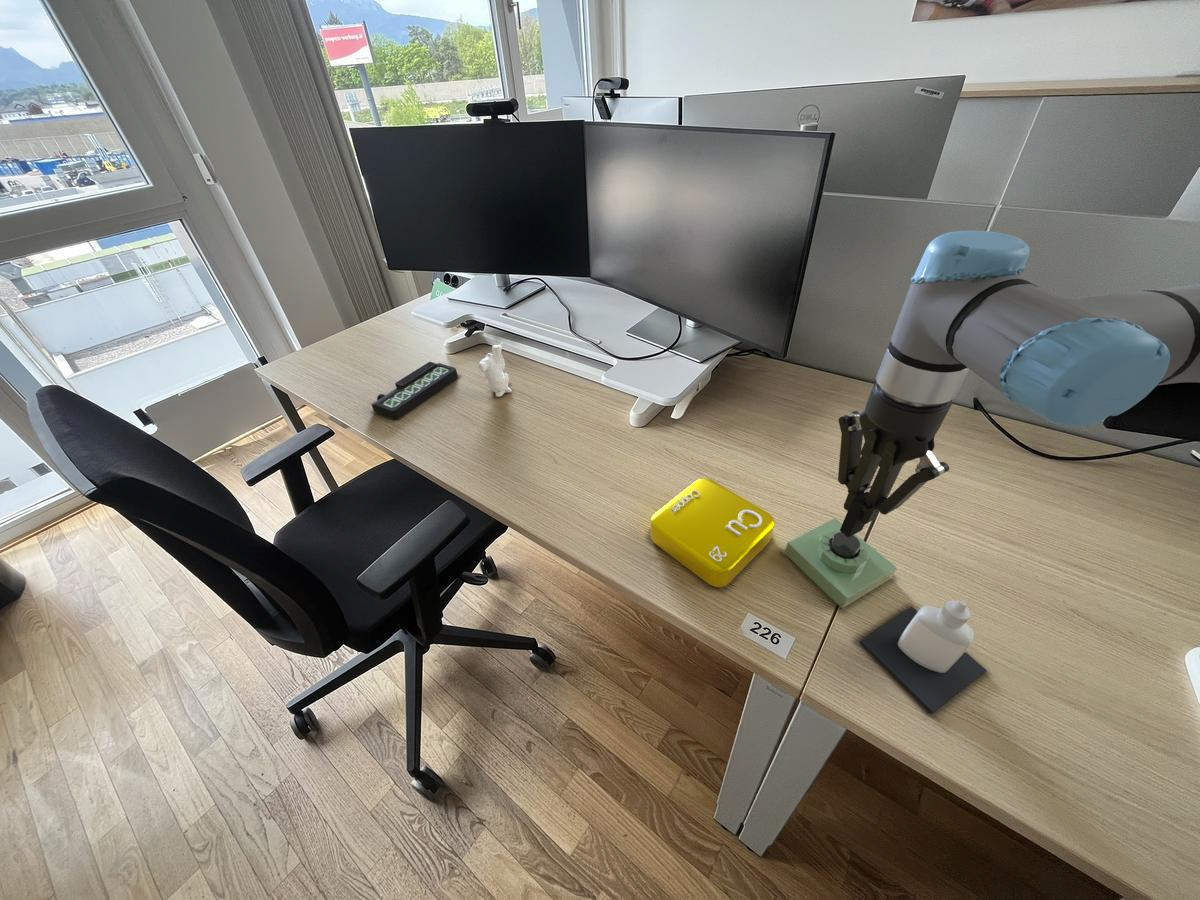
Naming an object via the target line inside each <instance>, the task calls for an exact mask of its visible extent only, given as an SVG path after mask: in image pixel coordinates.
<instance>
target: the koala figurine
mask: <svg viewBox="0 0 1200 900" xmlns="http://www.w3.org/2000/svg"><path fill="white" fill-rule="evenodd" d="M504 344H505V343H504V342H500V343H499V344H497V345H496V344H494V345H492V346H491V352H488V353H487V354H486V355H485V357H484V358H482V359H481V360H480V361H479V362H478V367H477V368H478V370H479V371H481V373H484V377H485V378H486V380H487V381H486V386H487V387H488V389H489V390H490V391H492V392H494V393H495V396H496V397H497V398H500V397H502V396H504V394H507V393H512V388H510V387H509V380H510V378H509V377H510V376H509V374H508V373H507V372H504V370H505V368H506V361H505V359H504V356H503V354H502V349H503V348H504Z"/></svg>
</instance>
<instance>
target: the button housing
mask: <svg viewBox="0 0 1200 900" xmlns="http://www.w3.org/2000/svg"><path fill="white" fill-rule="evenodd" d="M842 524H843V522H841V521H840V520H838V518H836V517H834V518H832V519H830V520H828V521H825V523H822V524H820V525H819V526H817V527H815V528H813V529H811V530H809V531H808V532H805V533H804V534H801V535H800V536H798V537H796V538H795V539H792V540H790V541H788V542H787V544H786V547H785V550H784V555H785V556H786V557H787V558H788V559H790V560H791V561H792V563H794V564H795V565H796V566H797V567H798V568H799V569H800V570H801V571H802V572H803V573H804V574H805V575H806V576H807V577H809V579H810V580H812V582H813V583H815V585H816V586H818V588H820V589H821V591H823V593H825V594H826V595H827V596H828V597H829V598H830V599H831V600H832V601H834V603H835V604H837V606H839V608H841V609H844V608H845V607H847V606H849V605H851V604H852V603H854V602H856V601H857V600H858V599H860V598H861V597H863V596H866V595H867V594H868V593H870V592H871V591H873V590H875V589H876V588H878V587H879V586H881V585H883V584H885V583H886V582H888V581H889V580H891V579H892V578H893V576H894V574H895V572H896V570H897V569H898V567H897V566H896V565H895V564H894V563H892V562H891V561H890V560H889V559H888V558H886V557H884V555H882V554H881V553H880V552H879V551H877V550H876V549H875V548H873V547H872V546H871V545H870V544H869V543H867V542H866V541H865V540H863V539H862V538H861V537H860V536H858V535H857V533H856V534H854V536H855V537H856V538H857V539H858V540H859V542H860V548H859V550H858V552H857V554H856V556H855V557H854V558H851V559H844V558H841V557H839V556H837V555H835V554H834V553H833V552H832V550H831V548H830V543H831V541H832V538H833V536H834V535H835V534H836V533H838V532H841V531H840V528H841V526H842Z"/></svg>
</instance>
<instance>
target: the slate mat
mask: <svg viewBox="0 0 1200 900" xmlns="http://www.w3.org/2000/svg"><path fill="white" fill-rule="evenodd" d="M917 612H918V610H917V609H915V608H914V607H913V606H910V607H909V608H907V609H906V610H904V611H903V612H901V613H900V614H898V615H896V616H894V618H892V619H890V620H889V621H888V622H886V623H884V624H883V625H881V626H880V627H879V628H877V629H876V630H874V631H872V632H870V633H869V634H868V635H866V636H865V637H863V638H862V639H860V640H859V644H860V645H861V646H862V647H863V648H864V649H865V650H866V651H867V652H868V653H869V654H870V655H871V656H872V657H873V658H874V659H875V660H876V661H877V662H878V663H879V664H880V665H881V666H882V667H883V668H884V669H885V670H886V671H887V672H888V673H889V674H890V675H891V676H892V677H893V678H894V679H895V680H896V681H897V682H898V683H899V684H900V685H901V686H902V687H903V688H905V690H906V691H907V692H908V693H909V694H910V695H911V696H912V697H914V699H916V701H917V702H918V703H920V705H921V706H922V707H924V708H925V709H926V711H928V712H929V713H930V715H933V714H935V712H937V711H938V710H939V709H940V708H942V707H943V706H944V705H946V704H947V703H948V702H950V701H951V700H952V699H953V698H955V697H956V696H958V694H960V693H961V692H963V691H964V690H965V689H966V688H967V687H969V686H970V685H971V684H972V683H974V682H975V681H976V680H978V679H979V678H980V677H982V676H983V675H984V674H986V673H987V671H988V670H987V669H986V668H985V667H984V666H983V665H981V664H980V663H979V662H978V661H976V660H975V659H974V658H973V657H972V656H971V655H970V654H968V653H967V652H966V651H965V652H964V653H963V654H962V656H961V657H960V658H959V659H958V660H957V661H956V662H955V663H954V664H953V665H952V666H951V667H950V669H949V670H948V671H946V672H945V673H940V672H936V671H933V670H930V669H928V668H925V667H923V666H921V665H920V664H918V663H916V662H915V661H913V660H912V659H911V658H909V657H908V656H907V655H906V654H905V653H904V652H903V651H902V650H901V649H900V648H899V646H898V641H899V639H900V637H901V635H902V633H903V632H904V630H905V629H906V628H907V626H908V625H909V623H910V622H911V620H912V619H913V618H914V616H915V615H916V614H917Z"/></svg>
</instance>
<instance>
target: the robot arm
mask: <svg viewBox="0 0 1200 900" xmlns="http://www.w3.org/2000/svg"><path fill="white" fill-rule="evenodd" d="M1030 252H1031V249H1030V247H1029V245H1028V244H1027V243H1026V242H1025V241H1024V240H1023V239H1022V238H1020V237H1017V236H1014V235H1010V234H1006V233H1002V232H997V231H988V230H973V229H972V230H970V229H969V230H958V231H949V232H946V233H943V234H940V235H938V236H937V237H935V238H933V240H931V241H930V242H929V244H928V245H927V246H926V248H925V250H924V252H923V254H922V256H921V259H920V262H919V263H918V266H917V268H916V270H915V272H914V275H913V276H912V277H911V278H910V281H909V282H910V285H909V288H908V290H907V293H906V296H905V300H904V302H903V305H902V307H901V310H900V312H899V315H898V318H897V321H896V324H895V327H894V329H893V332H892V334H891V337H890V341H889V343H888V346H887V348H886V351H885V354H884V356H883V358H882V361H881V364H880V366H879V368H878V371H877V374H876V376H875V379H876V381H875V382H874V383H873V385H872V388H871V391H870V393H869V396H868V397H867V401H866V403H865V408H864V410H862V411H861V412H859V411H857V410H854V411H851V412H849V413H846V414H844V415H842V416H839V417H838V425H839V429H840V433H841V438H840V439H841V440H840V449H839V459H838V474H837V481H838V483H839V484H840V485H843V486H845V487H846V488H847V495H846V498H845V500H844V502H843V509H844V510H845V511H847V512H846V514H845V516H844V519H843V521H842V526H841V528H840V531H841V532H842V533H843V534H844V535H846V536H847V537H848V538H849V537H851V536H852V535H854V534H856V535H857V533H860V532H861V531H863V530H864V527H865V526H866V525H867V524H869V523H871V522H872V521H874V520H876V518H877V516H878V514H879V513H880V514H881V515H888V514H889V513H892V512H893V511H895V510H897V509H898V508H900V507H902V505H904V504H905V502H907V501H908V500H909V499H910V498H911V497H912V496H913V495H914V494H916V493H917V492H918V491H919V490H920V489H921V488H922V487H923V486H924V485H926V484H927V483H928V482H929V481H932V480H935V479H936V478H938V477H940V476H942V475H944V474H945V473H947V472H949V471H950V466H949V464H948V463H947V462H945V461H939V460H938V459H937V457H936V456H935V454H934V453H933V451H934V450H935V446H936V445H935V438H936V437H935V436H936V435H937V433H938V432H939V430H940V428H941V426H942V424H943V423H944V420H945V418H946V416H947V415H948V413H949V411H950V409H951V408H952V405H953V400H954V399H955V398H956V397H957V395H958V393H959V391H960V389H961V387H962V385H963V383H964V381H965V380H966V378H967V376H968V374H969V372H970V370H971V372H973V373H975V375H977V376H979V377H980V378H981V379H983V380H984V381H985V382H987V383H988V384H990V385H991V386H993V388H995V389H996V390H998V391H999V392H1000V393H1002V395H1005V397H1006V398H1008V399H1009V401H1010V402H1012V403H1013V404H1015V405H1017V406H1018V407H1020V408H1021V407H1024V408H1025V409H1027V411H1030V412H1032V413H1034V414H1036V415H1037V416H1039V417H1041V418H1042V419H1044V420H1045V421H1047V422H1050V423H1051V424H1053V425H1056V426H1059V427H1063V428H1083V427H1084V428H1085V427H1090V426H1094V425H1098V424H1100V423H1102V422H1103V421H1104V420H1106V419H1107V418H1109V417H1110V416H1112V417H1116V416H1119V415H1121V414H1123V413H1124V412H1126V411H1128V410H1130V409H1131V408H1134V406H1136V405H1137V404H1138V403H1139V402H1141V401H1142V400H1143V399H1145V398H1146V397H1147V396H1148V395H1150V393H1151V392H1152V391H1153V390H1154V389H1155V388H1156V387H1157V386H1163V385H1169V384H1170V385H1172V384H1180V383H1200V283H1195V284H1194V283H1193V284H1187V285H1180V286H1173V287H1172V286H1171V287H1165V288H1158V289H1151V290H1150V289H1147V290H1145V289H1144V290H1139V291H1131V292H1123V293H1114V294H1105V295H1098V296H1090V297H1089V296H1088V297H1083V298H1072V297H1067V296H1062V295H1060V294H1058V293H1055V292H1053V291H1050V290H1048V289H1045V288H1042V287H1040V286H1038V285H1036V284H1034V283H1032V282H1031V281H1029V280H1027V279H1025V278H1022V277H1021V274H1023V273H1024V271H1026V263H1027V261H1028V258H1029V256H1030ZM863 439H864V442H863ZM916 459H919V462H918V463H917V464H916V467H915V468H914V471H915V473H913V474H911V475H909V476H908V477H907V479H906V480H905V481H904V482H902V483H901V484H900V485H899V486H898V487H897V488H896V489H895V490H894V491H893V492H892V493H891V491H892V489H893V487H894V484H895V482H896V481H897V478H898V476H899V475H900V472H901V470H902V469H903V466H904V465H905V464H906V463H907V462H910V461H913V460H916ZM876 472H877V473H876ZM875 474H876V475H875ZM873 479H874V480H873ZM872 481H873V482H872ZM867 490H869V491H867ZM890 493H891V494H890Z"/></svg>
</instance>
